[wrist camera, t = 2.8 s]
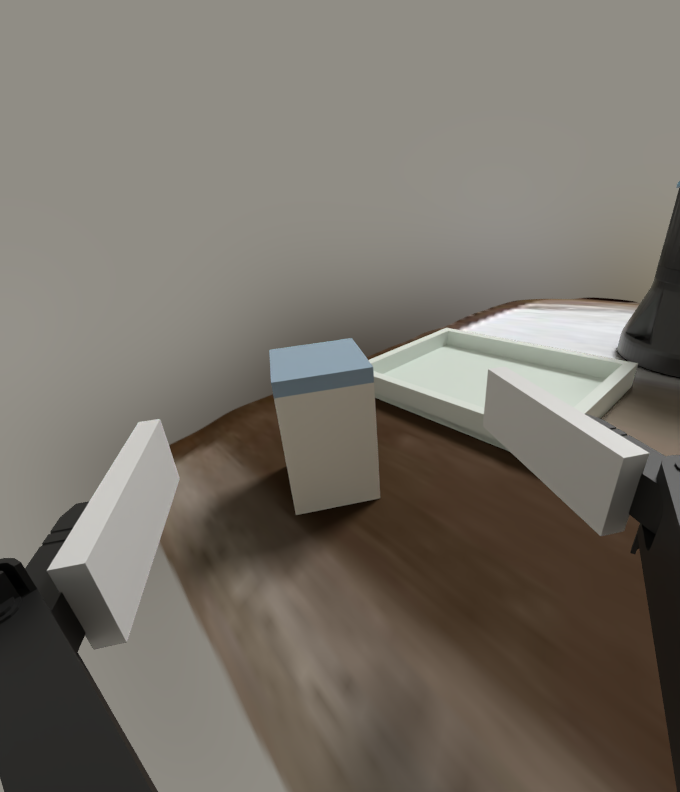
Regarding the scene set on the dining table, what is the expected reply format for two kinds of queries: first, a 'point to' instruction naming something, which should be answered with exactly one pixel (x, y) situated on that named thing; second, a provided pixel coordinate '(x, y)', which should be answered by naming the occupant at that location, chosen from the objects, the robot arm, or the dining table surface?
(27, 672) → the robot arm
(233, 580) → the dining table surface
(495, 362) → the tray
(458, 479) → the dining table surface
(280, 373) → the white boxy piece
